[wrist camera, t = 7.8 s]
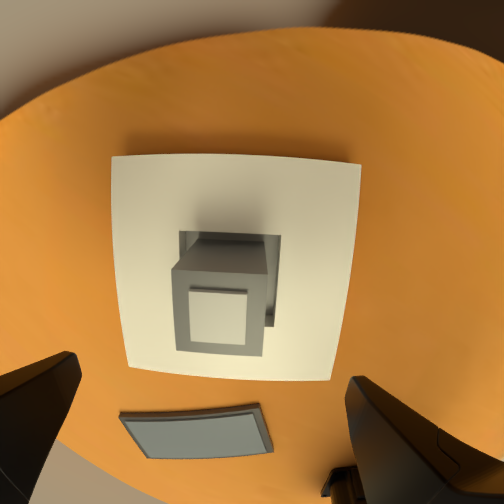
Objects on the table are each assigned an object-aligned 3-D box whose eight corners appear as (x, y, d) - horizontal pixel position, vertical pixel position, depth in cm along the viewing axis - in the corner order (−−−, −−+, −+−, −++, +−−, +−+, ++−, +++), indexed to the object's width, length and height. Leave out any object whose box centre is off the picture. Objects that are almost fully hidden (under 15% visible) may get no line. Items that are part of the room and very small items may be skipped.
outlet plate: (324, 363, 21) (329, 380, 19) (137, 351, 21) (128, 366, 19) (350, 165, 17) (361, 164, 15) (125, 157, 17) (111, 156, 15)
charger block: (260, 303, 19) (262, 360, 13) (198, 299, 19) (174, 353, 13) (264, 241, 18) (268, 277, 12) (197, 238, 18) (169, 271, 12)
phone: (273, 443, 24) (273, 453, 22) (149, 450, 25) (146, 459, 23) (259, 398, 22) (259, 409, 21) (122, 409, 23) (117, 418, 22)
